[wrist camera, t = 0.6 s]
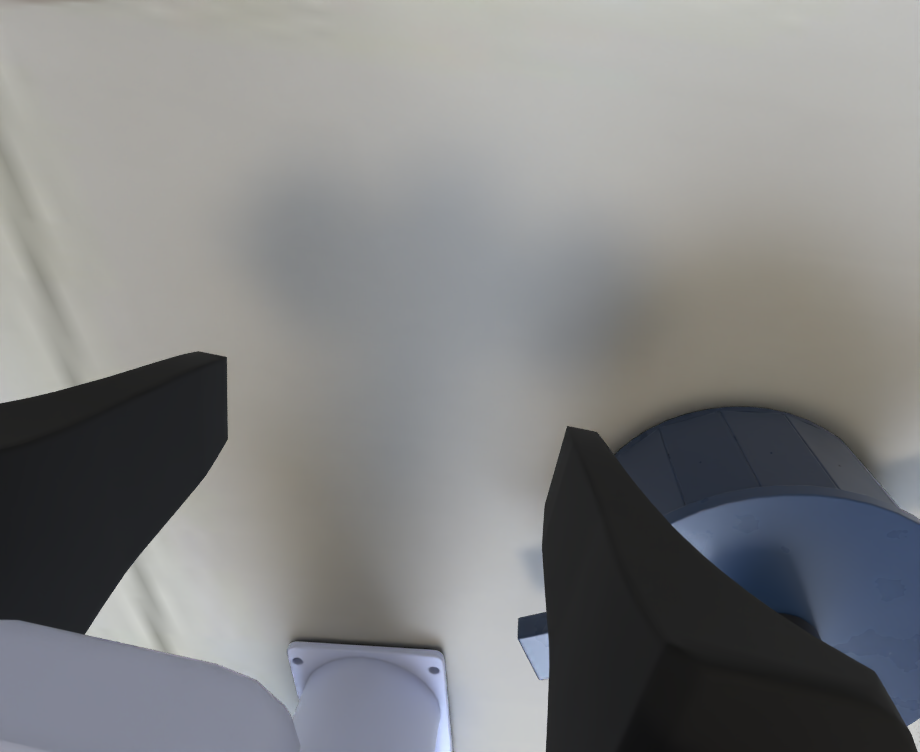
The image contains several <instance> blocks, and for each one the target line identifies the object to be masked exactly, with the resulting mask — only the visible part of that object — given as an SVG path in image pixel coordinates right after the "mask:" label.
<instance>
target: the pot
mask: <svg viewBox="0 0 920 752" xmlns="http://www.w3.org/2000/svg"><path fill="white" fill-rule="evenodd" d="M614 456H615V457H616V458H617V460H618V461H619V462H620V464H621V465H622V467H623V468H624V469H625V471H626V472H627V473H628V474H629V476H630V477H631V478H632V480H633V481H634V482H635V483H636V485H637V486H638V487H639V488H640V490H641V491H642V492H643V493H644V495H645V496H646V497H647V498H648V499H649V500H650V502H651V503H652V504H653V505H654V506H655V507H656V508H657V509H658V511H659V512H660V513H661V514H662V515H663V516H664V515H666V514H668V513H669V512H671V511H674V510H676V509H678V508H681V507H683V506H686V505H688V504H690V503H693V502H695V501H698V500H702V499H705V498H708V497H712V496H715V495H718V494H722V493H726V492H732V491H737V490H742V489H747V488H754V487H765V486H775V485H810V486H819V487H828V488H837V489H842V490H846V491H851V492H855V493H860V494H864V495H867V496H870V497H873V498H876V499H878V500H881V501H884V502H887V503H890V504H892V505H894V506H896V507H898V508H900V507H899V506H898V505H897V504H896V503H895V501H894V500H893V499H892V498H891V497H890V495H889V494H888V493H887V492H886V491H885V489H884V488H883V487H882V486H881V485H880V484H879V482H878V481H877V480H876V479H875V478H874V476H873V475H872V474H871V473H870V472H869V471H868V469H867V468H866V467H865V466H864V465H863V464H862V463H861V462H860V460H859V459H858V458H857V457H856V456H855V455H854V453H853V452H852V451H851V450H850V449H849V448H848V447H847V446H846V444H845V443H844V442H843V441H842V440H841V439H840V438H838V437H837V436H835V435H833V434H831V433H830V432H829V431H827V430H826V429H824V428H822V427H821V426H819V425H817V424H815V423H813V422H811V421H809V420H807V419H804V418H801V417H798V416H795V415H792V414H790V413H786V412H781V411H776V410H772V409H766V408H756V407H722V408H714V409H706V410H702V411H697V412H693V413H688V414H685V415H682V416H679V417H676V418H673V419H670V420H667V421H665V422H663V423H661V424H659V425H657V426H655V427H653V428H650V429H649V430H647V431H645V432H644V433H642V434H641V435H639V436H637V437H636V438H634V439H633V440H631V441H630V442H629V443H628V444H626V445H625V446H624V447H623V448H621V449H620V450H619V451H618V452H617V453H616V454H615V455H614ZM518 640H519V642H520V644H521V646H522V648H523V650H524V652H525V654H526V656H527V658H528V659H529V661H530V663H531V665H532V667H533V669H534V671H535V673H536V675H537V677H538V679H539V680H544V679H549V639H548V625H547V612H544V613H539V614H535V615H530V616H525V617H520V618H519V619H518Z"/></svg>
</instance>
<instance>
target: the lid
mask: <svg viewBox="0 0 920 752" xmlns="http://www.w3.org/2000/svg"><path fill="white" fill-rule="evenodd" d="M664 517H665V518H666V519H667V521H668V522H669V523H670V524H671V525H672V526H673V527H674V528H675V529H676V530H677V531H678V532H679V533H680V534H681V535H682V536H683V537H684V538H685V539H686V540H687V541H688V542H690V543H691V544H692V545H693V546H694V547H695V548H696V549H697V550H698V551H699V552H700V553H701V554H702V555H703V556H705V557H706V558H707V559H708V560H709V561H710V562H712V563H713V564H714V565H715V566H716V567H717V568H719V569H720V570H721V571H722V572H724V573H725V574H726V575H727V576H729V577H730V578H731V579H732V580H734V581H735V582H736V583H738V584H739V585H740V586H741V587H743V588H744V589H745V590H746V591H748V592H749V593H750V594H752V595H753V596H755V597H756V598H757V599H759V600H760V601H762V602H763V603H764V604H766V605H767V606H769V607H770V608H771V609H773V610H774V611H776V612H777V613H779V614H780V615H782V616H783V617H785V618H787V619H788V620H790V621H791V622H793V623H794V624H796V625H797V626H799V627H800V628H802V629H803V630H805V631H806V632H808V633H809V634H811V635H813V636H814V637H816V638H818V639H820V640H821V641H823V642H825V643H827V644H828V645H830V646H832V647H834V648H835V649H837V650H839V651H841V652H842V653H844V654H846V655H847V656H849V657H851V658H853V659H854V660H856V661H858V662H860V663H861V664H863V665H865V666H867V667H868V668H870V669H872V670H874V671H875V672H876V674H877V675H878V677H879V679H880V680H881V682H882V684H883V685H884V687H885V689H886V691H887V692H888V694H889V696H890V698H891V699H892V701H893V703H894V705H895V706H896V708H897V710H898V712H899V713H900V715H901V717H902V719H903V720H904V722H905V724H906V726H908V725H910V724H912V723H913V722H915V721H916V720H918V719H919V718H920V519H918V518H917V517H915V516H914V515H912V514H910V513H908V512H906V511H904V510H902V509H900V508H898V507H896V506H894V505H892V504H890V503H887V502H884V501H881V500H878V499H876V498H873V497H870V496H867V495H864V494H860V493H855V492H851V491H846V490H842V489H837V488H828V487H819V486H810V485H775V486H765V487H754V488H747V489H742V490H737V491H732V492H726V493H722V494H718V495H715V496H712V497H708V498H705V499H702V500H698V501H695V502H693V503H690V504H688V505H686V506H683V507H681V508H678V509H676V510H674V511H671V512H669V513H668V514H666V515H664Z"/></svg>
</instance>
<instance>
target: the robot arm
mask: <svg viewBox="0 0 920 752" xmlns="http://www.w3.org/2000/svg"><path fill="white" fill-rule="evenodd" d="M227 440H228V421H227V357H224V356H219V355H214V354H209V353H204V352H199V351H198V352H193V353H188V354H183V355H179V356H176V357H172V358H169V359H165V360H162V361H159V362H155V363H152V364H149V365H146V366H142V367H139V368H136V369H133V370H129V371H126V372H123V373H120V374H116V375H113V376H110V377H107V378H103V379H100V380H96V381H92V382H89V383H85V384H81V385H78V386H74V387H70V388H67V389H63V390H60V391H56V392H52V393H48V394H44V395H39V396H35V397H30V398H26V399H21V400H16V401H11V402H6V403H1V404H0V752H453V745H452V734H451V724H450V713H449V702H448V692H447V681H446V670H445V659H444V655H443V654H442V653H441V652H439V651H437V650H428V649H412V648H396V647H380V646H364V645H348V644H332V643H316V642H300V641H296V642H292V643H290V645H289V647H288V649H287V655H288V659H289V663H290V667H291V671H292V675H293V679H294V683H295V687H296V691H297V695H298V698H299V703H298V706H297V708H296V711H295V714H294V716H293V719H292V717H291V714H290V712H289V711H288V709H287V707H286V706H285V705H284V704H283V703H281V702H280V701H279V700H278V699H277V698H276V697H275V696H274V695H273V694H272V693H270V692H269V691H268V690H267V689H266V688H265V687H264V686H263V685H262V684H261V683H259V682H258V681H257V680H255V679H253V678H250V677H248V676H245V675H243V674H240V673H238V672H235V671H233V670H230V669H228V668H225V667H223V666H220V665H218V664H215V663H211V662H206V661H202V660H197V659H192V658H188V657H183V656H179V655H174V654H170V653H165V652H161V651H156V650H152V649H147V648H143V647H138V646H133V645H129V644H124V643H120V642H115V641H111V640H106V639H102V638H97V637H93V636H88V635H85V633H86V632H87V630H88V629H89V627H90V625H91V624H92V622H93V621H94V619H95V617H96V616H97V614H98V613H99V611H100V610H101V608H102V607H103V605H104V604H105V602H106V601H107V600H108V598H109V597H110V595H111V594H112V592H113V591H114V589H115V588H116V586H117V585H118V583H119V582H120V580H121V579H122V577H123V576H124V574H125V573H126V572H127V570H128V569H129V568H130V566H131V565H132V564H133V563H134V561H135V560H136V559H137V557H138V556H139V555H140V554H141V552H142V551H143V550H144V549H145V548H146V547H147V545H148V544H149V543H150V542H151V541H152V539H153V538H154V537H155V536H156V535H157V534H158V532H159V531H160V530H161V529H162V528H163V526H164V525H165V524H166V523H167V522H168V521H169V519H170V518H171V517H172V516H173V515H174V513H175V512H176V511H177V510H178V509H179V508H180V506H181V505H182V504H183V503H184V502H185V500H186V499H187V498H188V497H189V496H190V494H191V493H192V492H193V491H194V490H195V488H196V487H197V486H198V485H199V483H200V482H201V481H202V480H203V478H204V477H205V476H206V474H207V473H208V471H209V470H210V468H211V466H212V465H213V463H214V462H215V460H216V459H217V457H218V455H219V453H220V452H221V450H222V448H223V447H224V445H225V443H226V441H227ZM542 553H543V569H544V584H545V597H546V611H547V625H548V639H549V691H548V718H547V739H546V752H917V749H916V746H915V743H914V740H913V737H912V735H911V733H910V731H909V729H908V727H907V726H906V724H905V722H904V720H903V719H902V717H901V715H900V713H899V712H898V710H897V708H896V706H895V705H894V703H893V701H892V699H891V698H890V696H889V694H888V692H887V691H886V689H885V687H884V685H883V684H882V682H881V680H880V679H879V677H878V675H877V674H876V672H875V671H874V670H872V669H870V668H868V667H867V666H865V665H863V664H861V663H860V662H858V661H856V660H854V659H853V658H851V657H849V656H847V655H846V654H844V653H842V652H841V651H839V650H837V649H835V648H834V647H832V646H830V645H828V644H827V643H825V642H823V641H821V640H820V639H818V638H816V637H814V636H813V635H811V634H809V633H808V632H806V631H805V630H803V629H802V628H800V627H799V626H797V625H796V624H794V623H793V622H791V621H790V620H788V619H787V618H785V617H783V616H782V615H780V614H779V613H777V612H776V611H774V610H773V609H771V608H770V607H769V606H767V605H766V604H764V603H763V602H762V601H760V600H759V599H757V598H756V597H755V596H753V595H752V594H750V593H749V592H748V591H746V590H745V589H744V588H743V587H741V586H740V585H739V584H738V583H736V582H735V581H734V580H732V579H731V578H730V577H729V576H727V575H726V574H725V573H724V572H722V571H721V570H720V569H719V568H717V567H716V566H715V565H714V564H713V563H712V562H710V561H709V560H708V559H707V558H706V557H705V556H703V555H702V554H701V553H700V552H699V551H698V550H697V549H696V548H695V547H694V546H693V545H692V544H691V543H690V542H688V541H687V540H686V539H685V538H684V537H683V536H682V535H681V534H680V533H679V532H678V531H677V530H676V529H675V528H674V527H673V526H672V525H671V524H670V523H669V522H668V521H667V519H666V518H665V517H664V516H663V515H662V514H661V513H660V512H659V511H658V509H657V508H656V507H655V506H654V505H653V504H652V503H651V502H650V500H649V499H648V498H647V497H646V496H645V495H644V493H643V492H642V491H641V490H640V488H639V487H638V486H637V485H636V483H635V482H634V481H633V480H632V478H631V477H630V476H629V474H628V473H627V472H626V471H625V469H624V468H623V467H622V465H621V464H620V462H619V461H618V460H617V458H616V457H615V456H614V454H613V453H612V452H611V450H610V449H609V447H608V446H607V445H606V443H605V442H604V441H603V439H602V438H601V437H600V435H599V434H598V433H597V432H594V431H589V430H584V429H579V428H575V427H570V426H567V429H566V432H565V436H564V439H563V443H562V446H561V450H560V453H559V457H558V460H557V464H556V467H555V471H554V474H553V478H552V481H551V485H550V488H549V492H548V495H547V499H546V502H545V509H544V523H543V540H542Z"/></svg>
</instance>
